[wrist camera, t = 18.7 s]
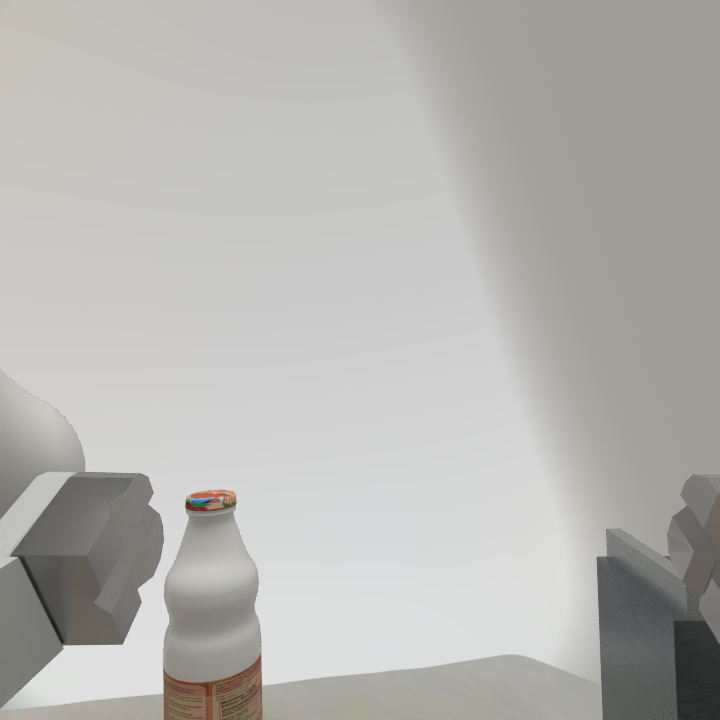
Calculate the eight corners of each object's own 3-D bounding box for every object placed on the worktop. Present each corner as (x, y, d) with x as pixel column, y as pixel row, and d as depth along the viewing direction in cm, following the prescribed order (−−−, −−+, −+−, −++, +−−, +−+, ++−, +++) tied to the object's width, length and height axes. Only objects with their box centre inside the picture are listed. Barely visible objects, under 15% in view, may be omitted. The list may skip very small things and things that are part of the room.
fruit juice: (151, 823, 47) (148, 508, 48) (178, 749, 56) (175, 486, 57) (258, 813, 48) (252, 503, 49) (267, 742, 57) (262, 483, 58)
